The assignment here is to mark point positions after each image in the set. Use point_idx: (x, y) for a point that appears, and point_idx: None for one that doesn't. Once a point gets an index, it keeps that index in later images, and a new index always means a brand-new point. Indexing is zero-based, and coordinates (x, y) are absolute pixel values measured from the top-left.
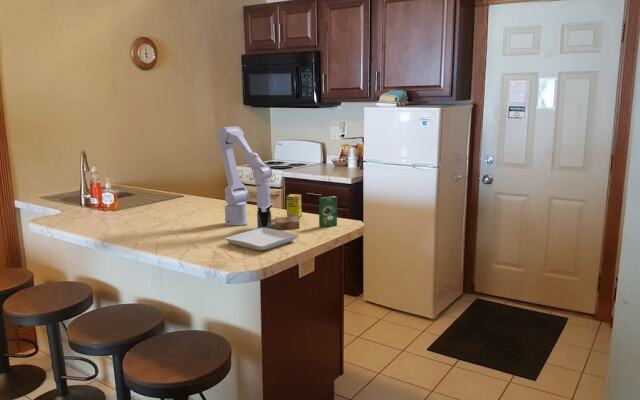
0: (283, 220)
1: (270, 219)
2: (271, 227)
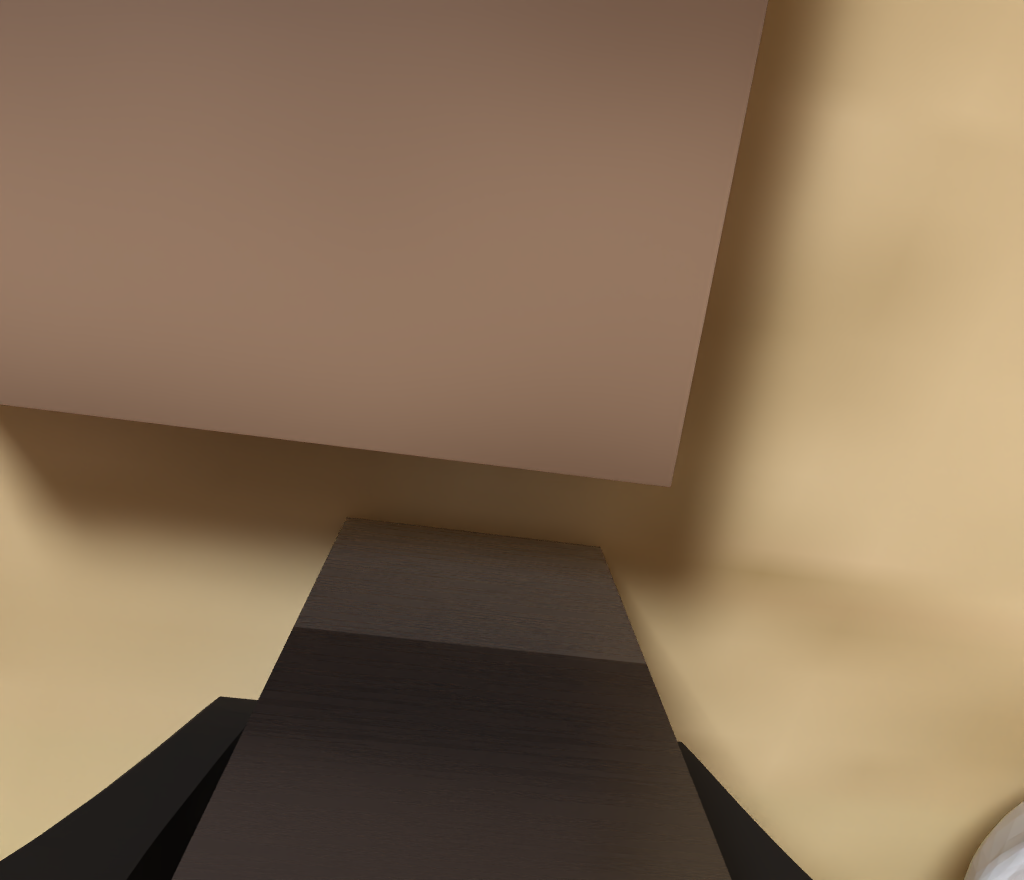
0: (389, 130)
1: (663, 756)
2: (612, 580)
